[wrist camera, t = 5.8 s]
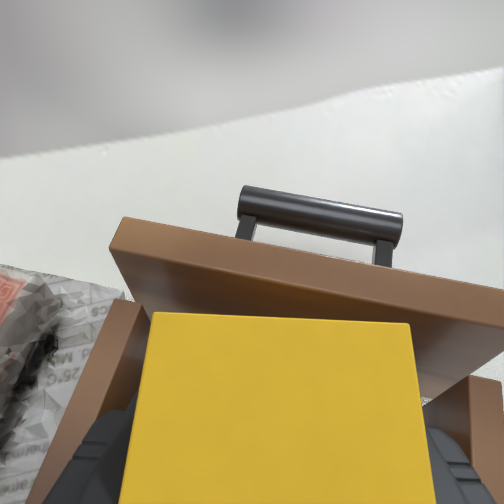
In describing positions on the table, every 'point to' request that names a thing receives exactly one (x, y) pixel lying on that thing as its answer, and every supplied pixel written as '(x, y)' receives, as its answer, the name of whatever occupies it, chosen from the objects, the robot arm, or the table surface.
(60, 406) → the packaged product
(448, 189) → the table surface
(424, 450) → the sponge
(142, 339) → the drawer
